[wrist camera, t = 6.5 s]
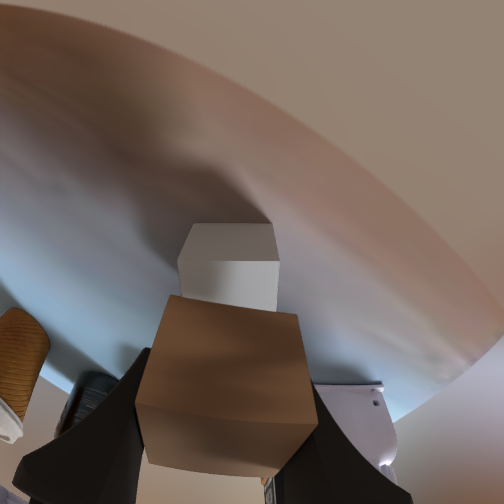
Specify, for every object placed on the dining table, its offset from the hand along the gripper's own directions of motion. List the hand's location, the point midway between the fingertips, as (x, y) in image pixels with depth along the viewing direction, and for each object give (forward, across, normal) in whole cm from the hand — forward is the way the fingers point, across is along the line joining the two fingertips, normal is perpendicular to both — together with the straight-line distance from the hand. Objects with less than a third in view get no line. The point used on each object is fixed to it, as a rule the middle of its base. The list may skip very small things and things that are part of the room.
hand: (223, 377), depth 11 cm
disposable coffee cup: (+10, +20, +13) cm, 26 cm away
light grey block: (+10, 0, 0) cm, 10 cm away
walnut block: (+2, 0, 0) cm, 2 cm away
